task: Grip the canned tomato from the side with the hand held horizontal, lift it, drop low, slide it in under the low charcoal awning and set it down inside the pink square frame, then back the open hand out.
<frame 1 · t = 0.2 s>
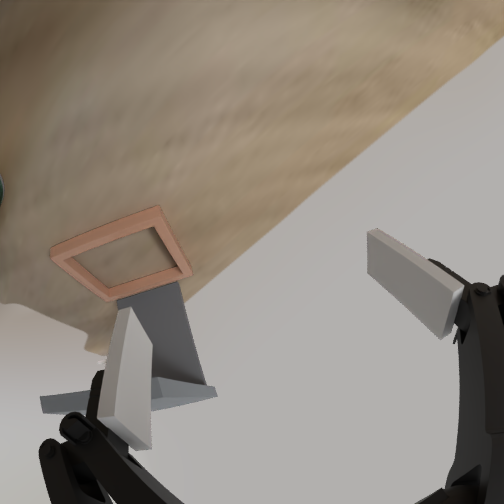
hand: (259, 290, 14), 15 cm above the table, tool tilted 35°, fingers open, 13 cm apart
pink square frame: (125, 258, 33), on the table
awning: (125, 258, 33), on the table
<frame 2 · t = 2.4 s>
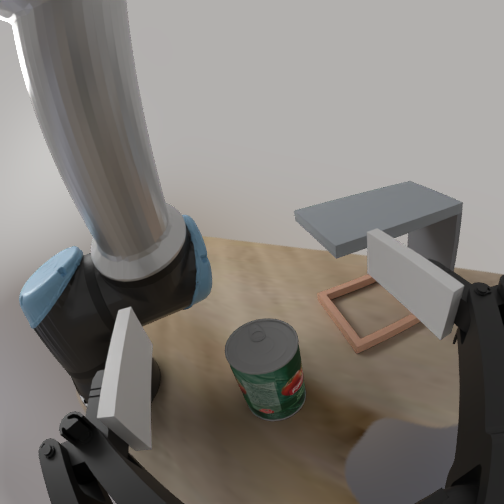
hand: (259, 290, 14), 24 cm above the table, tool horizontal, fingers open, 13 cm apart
canned tomato: (276, 396, 34), on the table
pink square frame: (372, 308, 44), on the table
awning: (372, 308, 44), on the table
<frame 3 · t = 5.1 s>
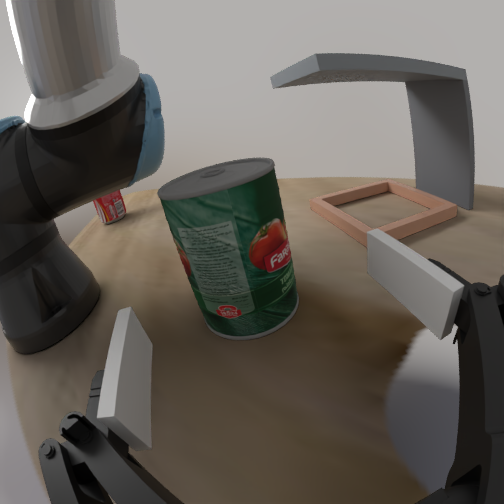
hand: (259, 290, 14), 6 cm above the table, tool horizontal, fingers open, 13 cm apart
canned tomato: (251, 307, 23), on the table
pink square frame: (382, 211, 33), on the table
soda can: (115, 220, 62), on the table
awning: (382, 211, 33), on the table
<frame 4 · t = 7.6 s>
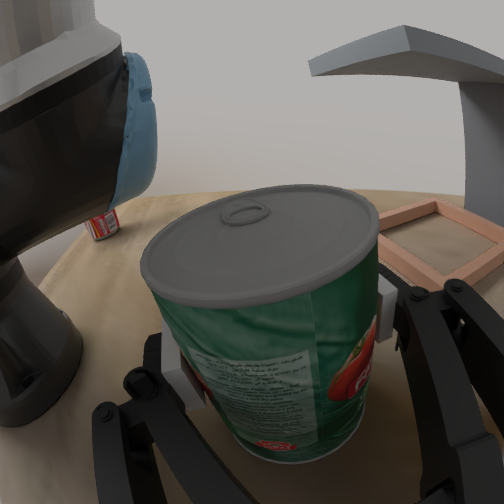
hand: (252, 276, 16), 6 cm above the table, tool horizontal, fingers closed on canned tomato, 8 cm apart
canned tomato: (295, 404, 14), on the table, touching gripper
pink square frame: (438, 242, 24), on the table
soda can: (107, 235, 53), on the table
awning: (438, 242, 24), on the table
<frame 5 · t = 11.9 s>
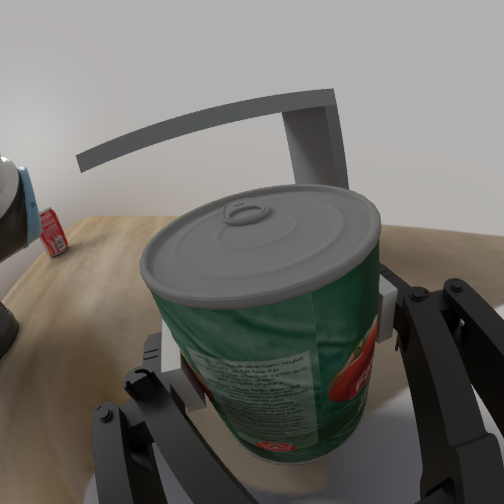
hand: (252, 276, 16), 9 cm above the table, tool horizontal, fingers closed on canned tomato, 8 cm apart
canned tomato: (296, 405, 14), point 3 cm above the table, touching gripper
soda can: (59, 252, 62), on the table
awning: (236, 275, 33), on the table
when the fingers open (7 cm above the table, at t = 16.4 s): canned tomato drops 1 cm, resting in pink square frame.
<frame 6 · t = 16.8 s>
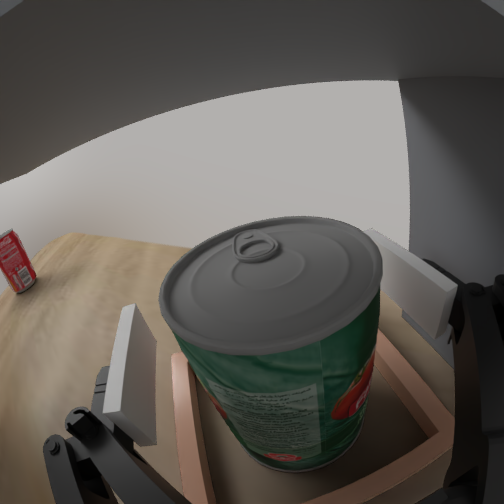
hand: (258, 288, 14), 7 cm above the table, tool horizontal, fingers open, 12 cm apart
canned tomato: (299, 416, 15), resting in pink square frame
pink square frame: (297, 414, 15), on the table
soda can: (26, 286, 43), on the table
awning: (297, 414, 15), on the table
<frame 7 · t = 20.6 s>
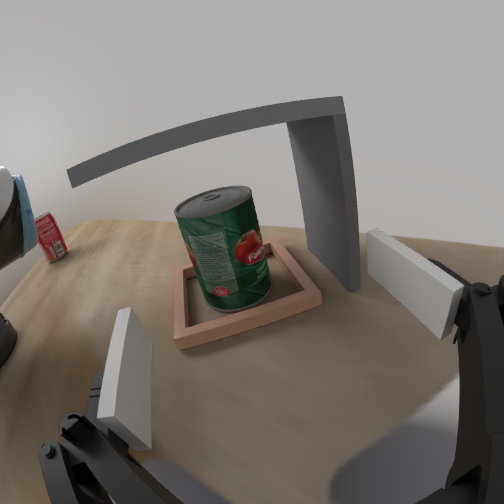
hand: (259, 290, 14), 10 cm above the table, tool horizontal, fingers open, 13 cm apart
canned tomato: (238, 291, 32), resting in pink square frame
pink square frame: (237, 289, 32), on the table
soda can: (58, 257, 61), on the table
awning: (237, 289, 32), on the table
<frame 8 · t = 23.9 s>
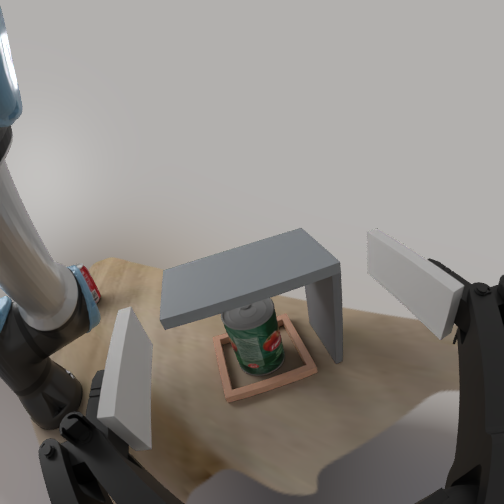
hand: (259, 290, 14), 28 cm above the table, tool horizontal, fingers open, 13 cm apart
canned tomato: (262, 358, 45), resting in pink square frame
pink square frame: (261, 357, 45), on the table
soda can: (93, 302, 74), on the table
awning: (261, 357, 45), on the table
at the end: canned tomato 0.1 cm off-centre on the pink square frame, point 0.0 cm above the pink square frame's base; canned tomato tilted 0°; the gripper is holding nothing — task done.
